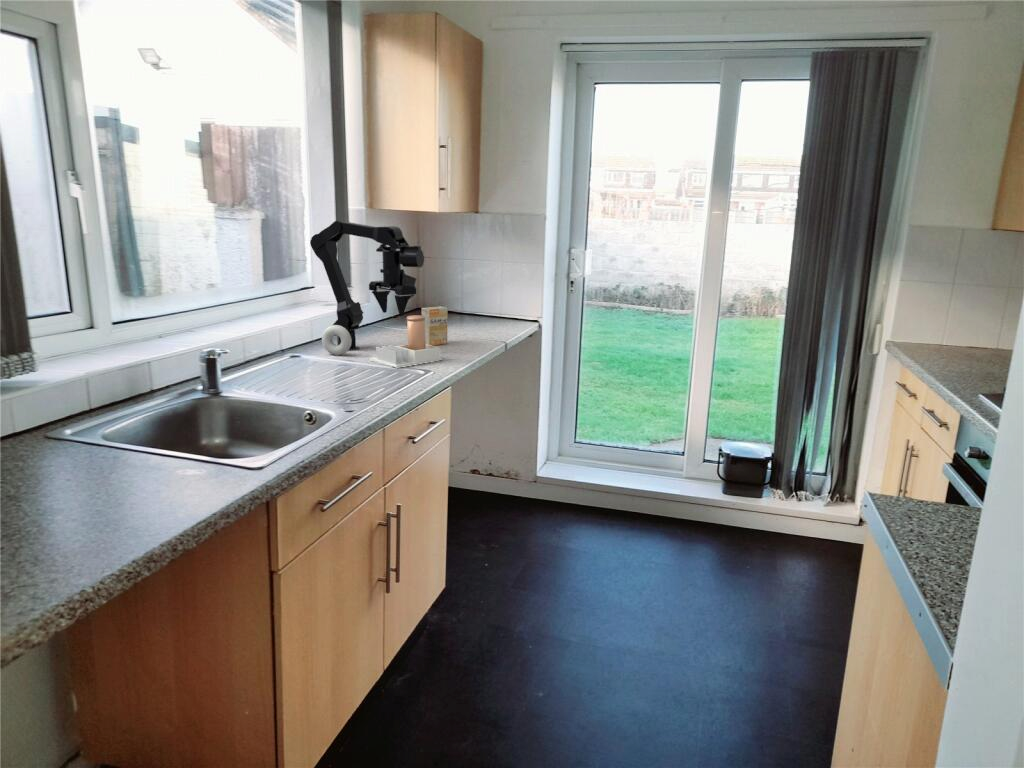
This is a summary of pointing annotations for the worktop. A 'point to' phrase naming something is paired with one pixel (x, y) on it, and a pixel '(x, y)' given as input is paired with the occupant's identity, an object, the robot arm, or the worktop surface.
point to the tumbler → (416, 332)
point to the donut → (343, 336)
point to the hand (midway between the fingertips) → (393, 314)
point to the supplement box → (435, 325)
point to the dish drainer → (406, 355)
